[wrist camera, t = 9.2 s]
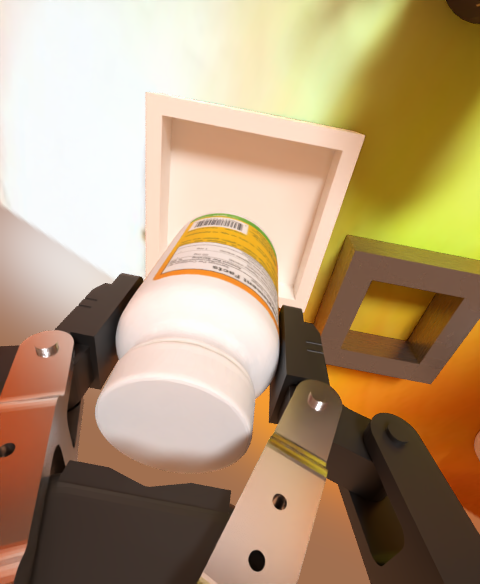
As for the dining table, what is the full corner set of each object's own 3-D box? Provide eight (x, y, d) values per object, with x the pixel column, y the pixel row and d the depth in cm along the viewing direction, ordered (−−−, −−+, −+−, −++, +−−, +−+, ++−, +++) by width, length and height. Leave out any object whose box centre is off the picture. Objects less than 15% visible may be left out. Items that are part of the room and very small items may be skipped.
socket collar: (483, 261, 24) (508, 280, 22) (417, 360, 30) (430, 384, 28) (347, 234, 24) (355, 250, 22) (307, 338, 30) (310, 361, 28)
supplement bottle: (220, 318, 18) (174, 504, 10) (152, 250, 16) (23, 411, 8) (299, 270, 16) (325, 456, 8) (231, 184, 14) (168, 310, 6)
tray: (354, 131, 20) (365, 135, 18) (301, 292, 27) (304, 312, 25) (161, 93, 20) (145, 92, 18) (157, 265, 27) (145, 281, 25)
